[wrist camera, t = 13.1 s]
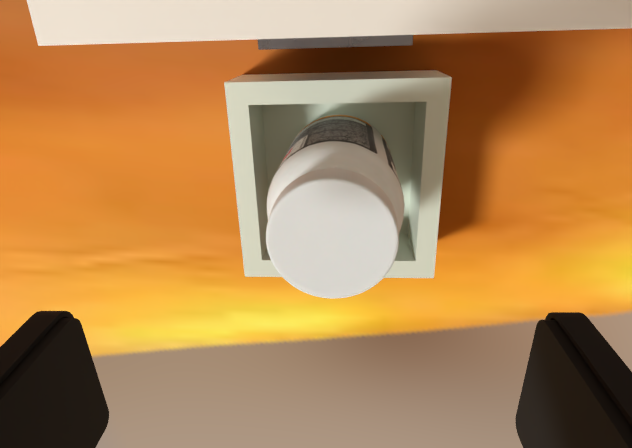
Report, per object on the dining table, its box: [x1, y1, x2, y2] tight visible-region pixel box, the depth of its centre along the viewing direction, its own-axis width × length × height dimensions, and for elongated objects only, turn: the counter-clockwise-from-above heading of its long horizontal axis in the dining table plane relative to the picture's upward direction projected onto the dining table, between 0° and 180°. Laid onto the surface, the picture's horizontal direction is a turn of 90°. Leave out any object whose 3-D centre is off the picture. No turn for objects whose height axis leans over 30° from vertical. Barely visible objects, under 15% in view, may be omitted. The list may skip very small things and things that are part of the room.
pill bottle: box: [266, 114, 405, 298], centre depth 20 cm, size 6×6×10 cm
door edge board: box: [27, 0, 632, 50], centre depth 19 cm, size 3×22×7 cm, turn 92°
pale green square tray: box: [224, 70, 452, 278], centre depth 23 cm, size 10×10×4 cm
